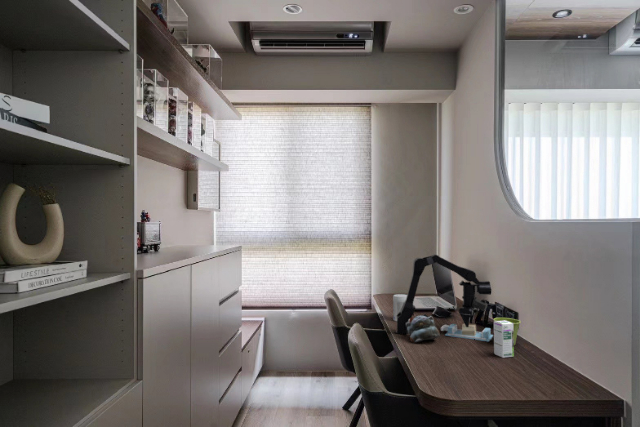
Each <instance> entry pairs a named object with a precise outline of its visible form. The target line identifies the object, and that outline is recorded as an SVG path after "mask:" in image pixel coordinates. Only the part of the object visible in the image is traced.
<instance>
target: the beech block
mask: <svg viewBox="0 0 640 427" xmlns="http://www.w3.org/2000/svg"><path fill="white" fill-rule="evenodd" d="M461 330H462V335H467V336H475V335H476V332H477V324H473V323H472V324H471V323H469V327H466V326H465V323H464V322H463V323H462V325H461Z"/></svg>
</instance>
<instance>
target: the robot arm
mask: <svg viewBox="0 0 640 427" xmlns="http://www.w3.org/2000/svg"><path fill="white" fill-rule="evenodd" d="M412 262H413V264H412V275H411V279H410V283H409V286H408V290H407V293H406V295H407V298H406V300H405V302H404V304H403V306H402V308H401V311H400V312H399V313H398V314H397V315H396V316H397V322H396V331H394V334H397V335H403V336H407V335H410V334H409V332H408V330H407V327H406V323H407V322H409V319H410V318H413V316H414V315H415V310H416V306H415V305H414V300H415V298H416V293H417V289H418V286H419V282H420V278H421V276H422V274H423V272H424V270H425V269H426V267H428V266H431V265H433V264H438V265H440V266H442V267H443V268H446V269H448V270H449V271H452V272H454V273H456V274H457V275H458V276H459V277H461V278H462V279H464V280H465V281H464V280H461V282H459V283H458V285H459V286H462V292H463V293H462V298H461V299H462V301H463V302H462V303H463V304H462V305H461V307H460V308H459V309H458V314H459V315H460V317H461V319H462V321H463V323H465V326H466V327H469V324H473V321H474V316H475V314H476V312H477V311H478V310H481V311H482V312H485V311H486V310H487V308H488V303H487V301H486V299H484V298H483V299H481V300H480V299H477V298H478V297H477V296H476V293H477V295H479V296H480V295H481V296H483V295H484V296H485V295H486V296H491V295H492V287H491V282H490V281H489V280H483V281H480V280H479V279H478V278H477V274H476V272H475V271H474V270H472V269H470V268H467V267H463V266H461V265H457V264H455V263H453V262H451V261H449V260H447V259H446V258H443V257H441V256H439V255H438V254H432V255H429V256H425V257H424V256H423V257H416V258H414V260H413V261H412ZM471 282H472V283H471Z"/></svg>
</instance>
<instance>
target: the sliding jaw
mask: <svg viewBox="0 0 640 427" xmlns="http://www.w3.org/2000/svg"><path fill="white" fill-rule="evenodd" d="M457 329H458V324H456V323H451V324H450V325H447V324H444V325H442V326H441V327H440V331H441V332H444V331H446V332H448V333H450V334H454V333H455V332H456V331H457Z"/></svg>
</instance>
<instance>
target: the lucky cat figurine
mask: <svg viewBox="0 0 640 427" xmlns="http://www.w3.org/2000/svg"><path fill="white" fill-rule="evenodd" d="M406 327H407V330H408V332H409V334H408V335H409V338H410V341H411V343H414V344H416V343H419V342H422V341H423V342H424V341H428V340H430V341H431V340H432V341H433V340H435V339H439V338H440V336H441V332H440V330H439V329H438V328H437V326H436V323H435V320H434V317H433V316H432V315H430V316H428V314H426V313H424V314H422V315H417V316H415V317H412V318H410V321H408V322H407V323H406Z"/></svg>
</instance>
